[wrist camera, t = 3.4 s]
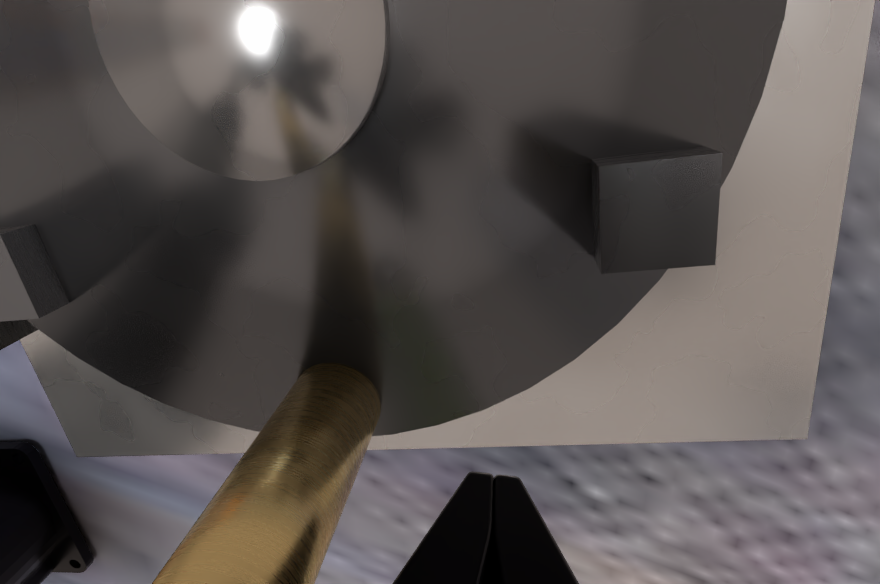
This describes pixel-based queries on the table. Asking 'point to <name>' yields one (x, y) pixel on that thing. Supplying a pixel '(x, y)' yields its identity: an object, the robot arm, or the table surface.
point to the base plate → (649, 323)
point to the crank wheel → (353, 212)
